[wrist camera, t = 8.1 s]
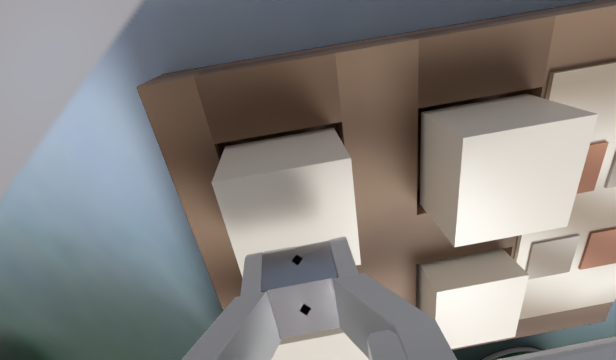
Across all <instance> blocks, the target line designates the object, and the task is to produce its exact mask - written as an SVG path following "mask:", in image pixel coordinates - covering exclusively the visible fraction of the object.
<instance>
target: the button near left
mask: <svg viewBox="0 0 616 360" xmlns="http://www.w3.org/2000/svg"><path fill="white" fill-rule="evenodd" d="M212 186H213V189H214V192H215V195H216V198H217V201H218V204H219V207H220V211H221V214H222V217H223V220H224V223H225V226H226V229H227V232H228V235H229V238H230V241H231V244H232V247H233V250H234V253H235V257H236V260H237V263H238V266H239V269H240V272H241V275H242V278H243V270H244V262H245V257H246V255H248V254H254V253H260V252H265V251H271V250H277V249H283V248H289V247H295V246H302V245H307V244H312V243H317V242H323V241H329V240H330V239H335V238H339V237H344V236H345V237H346V238H347V241H348V244H349V247H350V250H351V253H352V256H353V259H354V261H355V264H356V265H361V259H360V248H359V238H358V227H357V216H356V205H355V195H354V184H353V173H352V163H351V157H350V155H349V153H348V152H347V150H346V148H345V146H344V145H343V143H342V141H341V139H340V138H339V136H338V134H337V132H336V131H335V129H334V127H333V128H327V129H322V130H316V131H310V132H305V133H299V134H293V135H287V136H282V137H276V138H270V139H265V140H259V141H253V142H247V143H242V144H236V145H230V146H225V148H224V151H223V154H222V156H221V159H220V161H219V164H218V167H217V169H216V172H215V175H214V177H213V180H212Z"/></svg>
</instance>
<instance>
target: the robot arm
mask: <svg viewBox="0 0 616 360" xmlns="http://www.w3.org/2000/svg"><path fill="white" fill-rule="evenodd" d="M335 328H341V330H342V331H343V332H344V333H345V334H346V335H347V336H348V337H349V339H350V340H351V341H352V342H353V343H354V344H355V345H356V346H357V347H358V348H359V349H360V350H361V351H362V352H363V353H364V354H365V355H366V357H367V358H368V359H369V360H457V358H456V357H455V355H454V353H453V351H452V349H451V348H450V346H449V344H448V342H447V340H446V338H445V337H444V335H443V333H442V331H441V329H440V327H439V326H438V324H437V322H436V320H435V319H434V318H432V317H431V316H429V315H428V314H426V313H424V312H423V311H421V310H420V309H418V308H417V307H415V306H414V305H412V304H411V303H409V302H408V301H406V300H405V299H403V298H402V297H400V296H398V295H397V294H395V293H394V292H392V291H391V290H389V289H388V288H386V287H385V286H383V285H382V284H380V283H379V282H377V281H375V280H374V279H372V278H371V277H369V276H368V275H366V274H365V273H360V274H359V273H358V270H357V267H356V264H355V261H354V259H353V256H352V253H351V250H350V247H349V244H348V241H347V238H346V237H345V236H344V237H339V238H335V239H330V240H329V241H323V242H317V243H312V244H307V245H302V246H295V247H289V248H283V249H277V250H271V251H265V252H260V253H254V254H248V255H246V257H245V262H244V270H243V278H242V286H241V294H240V296H238V297H235V298H234V299H233V300H232V301H231V303H230V304H229V305H228V306H227V307H226V308H225V310H224V311H223V312H222V313H221V314H220V315H219V317H218V318H217V319H216V320H215V321H214V322H213V323H212V325H211V326H210V327H209V328H208V329H207V330H206V332H205V333H204V334H203V335H202V336H201V337H200V339H199V340H198V341H197V342H196V343H195V344H194V346H193V347H192V348H191V349H190V350H189V351H188V353H187V354H186V355H185V356H184V357H183V358H182V360H271V359H272V358H273V356H274V354H275V352H276V350H277V348H278V346H279V344H280V342H281V340H280V339H284V338H288V337H293V336H297V335H302V334H306V333H310V332H317V331H323V330H329V329H335ZM498 360H616V336H615V337H610V338H605V339H600V340H595V341H590V342H585V343H579V344H574V345H569V346H564V347H559V348H554V349H549V350H544V351H539V352H533V353H528V354H523V355H518V356H513V357H508V358H503V359H498Z"/></svg>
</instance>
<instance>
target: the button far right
mask: <svg viewBox="0 0 616 360" xmlns="http://www.w3.org/2000/svg"><path fill="white" fill-rule="evenodd" d="M528 278H529V274H528V273H527V272H526V271H525V270H524V269H523V268H522V267H521V266H520V265H519V264H518V263H517V262H516V261H515V260H514V259H513V258H512V257H511V256H510V255H509V254H507V253H506V252H505V251H504V250H503V249H497V250H492V251H486V252H481V253H475V254H470V255H465V256H459V257H454V258H448V259H443V260H438V261H432V262H427V263H421V264H416V307H417V308H418V309H420V310H421V311H423V312H424V313H426V314H428V315H429V316H431V317H432V318H434V319H435V320H436V322H437V324H438V326H439V327H440V329H441V331H442V333H443V335H444V337H445V338H446V340H447V342H448V344H449V346H450V348H451V349H454V348H459V347H465V346H470V345H475V344H480V343H485V342H491V341H496V340H501V339H506V338H512V337H515V335H516V330H517V326H518V322H519V317H520V313H521V308H522V304H523V300H524V295H525V291H526V287H527V282H528Z"/></svg>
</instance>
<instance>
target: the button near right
mask: <svg viewBox="0 0 616 360" xmlns="http://www.w3.org/2000/svg"><path fill="white" fill-rule="evenodd" d="M597 117H598V114H596V113H593V112H589V111H586V110H582V109H579V108H575V107H572V106H568V105H565V104H561V103H558V102H554V101H551V100H547V99H544V98H540V97H537V96H533V95H530V94H522V95H516V96H510V97H505V98H499V99H493V100H487V101H482V102H476V103H470V104H465V105H459V106H453V107H447V108H442V109H436V110H430V111H425V112H421V153H420V205H421V206H422V207H423V209H424V210H425V211H426V212H427V214H428V215H429V216H430V217H431V219H432V220H433V221H434V222H435V224H436V225H437V226H438V227H439V229H440V230H441V231H442V232H443V234H444V235H445V236H446V237H447V239H448V240H449V241H450V242H451V244H452V245H453V246H454V247H459V246H465V245H470V244H476V243H481V242H486V241H492V240H497V239H503V238H508V237H513V236H519V235H524V234H530V233H535V232H541V231H546V230H551V229H557V228H562V227H567V226H568V222H569V218H570V215H571V211H572V208H573V204H574V200H575V197H576V193H577V190H578V186H579V182H580V179H581V175H582V171H583V168H584V164H585V161H586V157H587V153H588V150H589V146H590V143H591V139H592V135H593V132H594V128H595V125H596V121H597Z"/></svg>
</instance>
